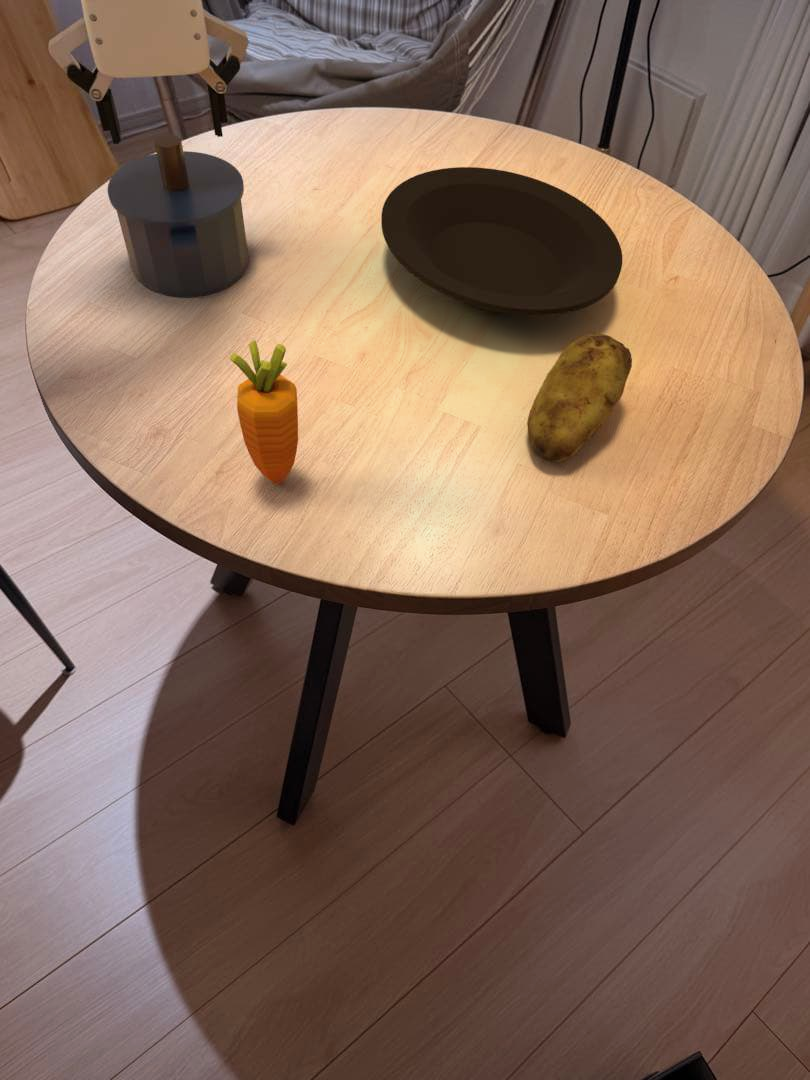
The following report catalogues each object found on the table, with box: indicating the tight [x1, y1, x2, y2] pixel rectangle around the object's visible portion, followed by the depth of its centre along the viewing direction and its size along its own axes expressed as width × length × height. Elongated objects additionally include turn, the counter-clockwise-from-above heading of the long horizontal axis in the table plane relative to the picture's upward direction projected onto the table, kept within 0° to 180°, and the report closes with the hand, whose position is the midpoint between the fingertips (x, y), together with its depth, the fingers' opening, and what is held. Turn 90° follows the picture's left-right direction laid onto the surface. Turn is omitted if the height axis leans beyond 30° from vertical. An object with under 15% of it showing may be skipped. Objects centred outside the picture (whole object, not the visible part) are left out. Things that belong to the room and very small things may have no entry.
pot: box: [116, 199, 249, 298], centre depth 85 cm, size 13×18×8 cm
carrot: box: [229, 340, 299, 485], centre depth 63 cm, size 5×5×15 cm
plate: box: [380, 166, 623, 317], centre depth 87 cm, size 28×24×6 cm
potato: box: [526, 333, 633, 463], centre depth 72 cm, size 8×13×8 cm, turn 131°
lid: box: [107, 133, 245, 227], centre depth 79 cm, size 14×14×6 cm
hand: (168, 133), depth 77 cm, fingers open, 9 cm apart
